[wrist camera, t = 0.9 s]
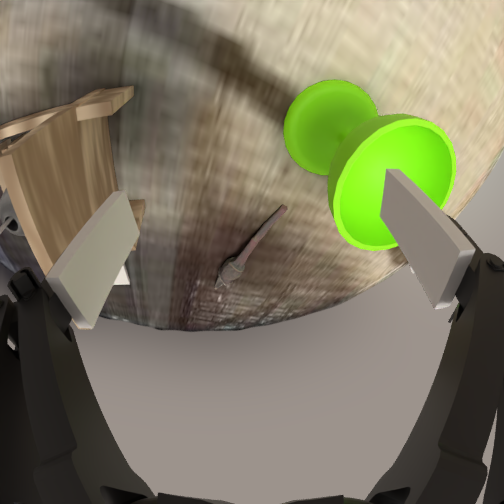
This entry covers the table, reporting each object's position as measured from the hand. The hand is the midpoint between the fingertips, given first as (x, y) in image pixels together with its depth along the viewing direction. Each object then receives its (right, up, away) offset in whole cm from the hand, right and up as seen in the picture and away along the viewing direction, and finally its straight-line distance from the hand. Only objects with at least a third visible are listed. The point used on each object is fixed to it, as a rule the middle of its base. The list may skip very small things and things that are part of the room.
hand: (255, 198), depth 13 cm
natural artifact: (-1, -2, +39) cm, 39 cm away
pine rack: (-28, +11, +20) cm, 36 cm away
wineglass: (+12, +16, +24) cm, 31 cm away
